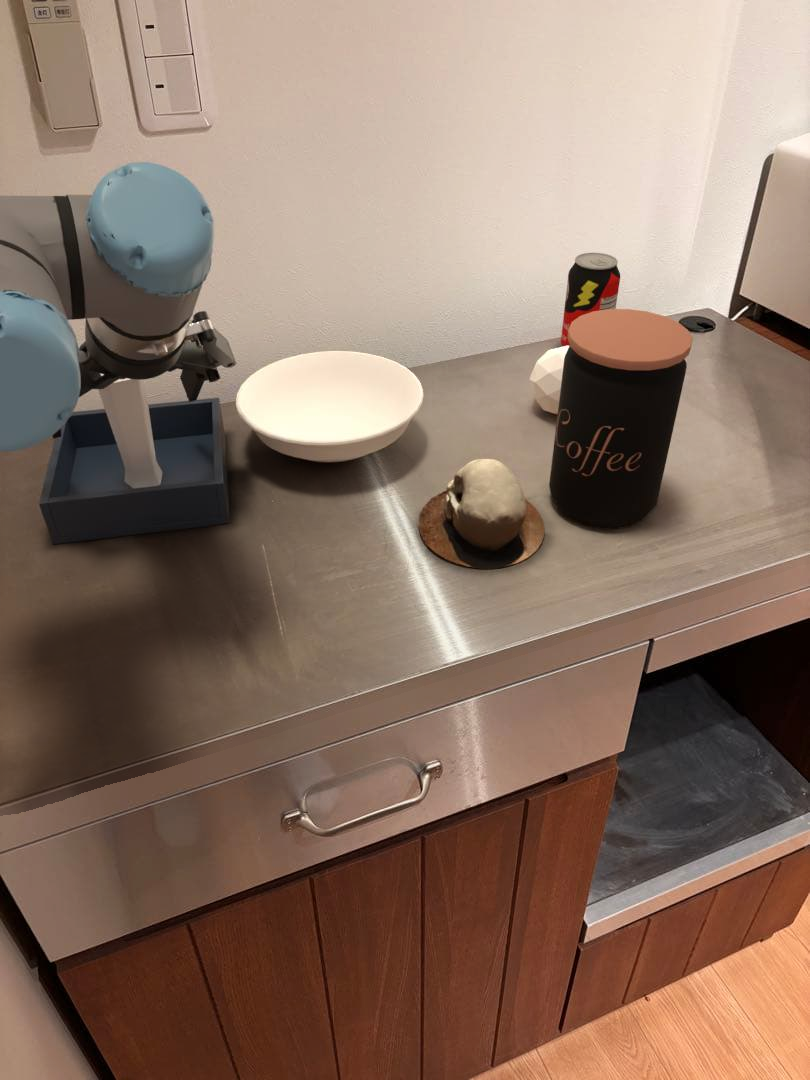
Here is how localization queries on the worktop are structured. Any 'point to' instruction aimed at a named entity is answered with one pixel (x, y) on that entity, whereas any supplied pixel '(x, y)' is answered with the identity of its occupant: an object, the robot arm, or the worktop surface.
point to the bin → (118, 509)
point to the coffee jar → (616, 415)
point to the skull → (482, 518)
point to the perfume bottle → (132, 430)
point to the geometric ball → (548, 379)
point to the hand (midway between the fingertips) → (122, 406)
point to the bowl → (330, 404)
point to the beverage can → (590, 288)
